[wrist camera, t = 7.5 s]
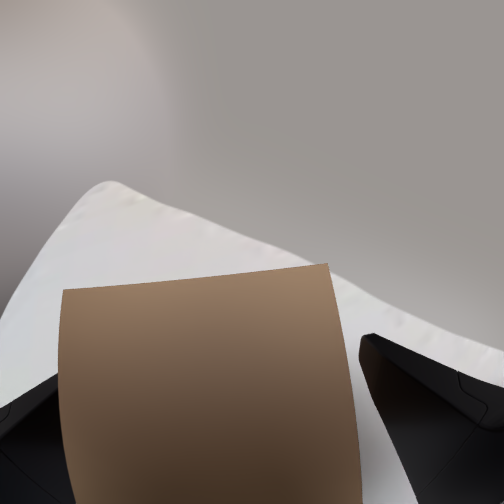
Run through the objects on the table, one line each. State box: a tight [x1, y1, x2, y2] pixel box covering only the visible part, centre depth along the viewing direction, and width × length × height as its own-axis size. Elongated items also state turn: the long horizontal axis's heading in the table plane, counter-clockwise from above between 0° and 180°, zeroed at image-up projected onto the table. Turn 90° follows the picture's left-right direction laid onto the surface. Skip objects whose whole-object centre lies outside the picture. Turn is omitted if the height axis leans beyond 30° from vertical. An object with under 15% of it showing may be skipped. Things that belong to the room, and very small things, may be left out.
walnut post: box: [58, 263, 363, 504], centre depth 9 cm, size 5×5×13 cm
